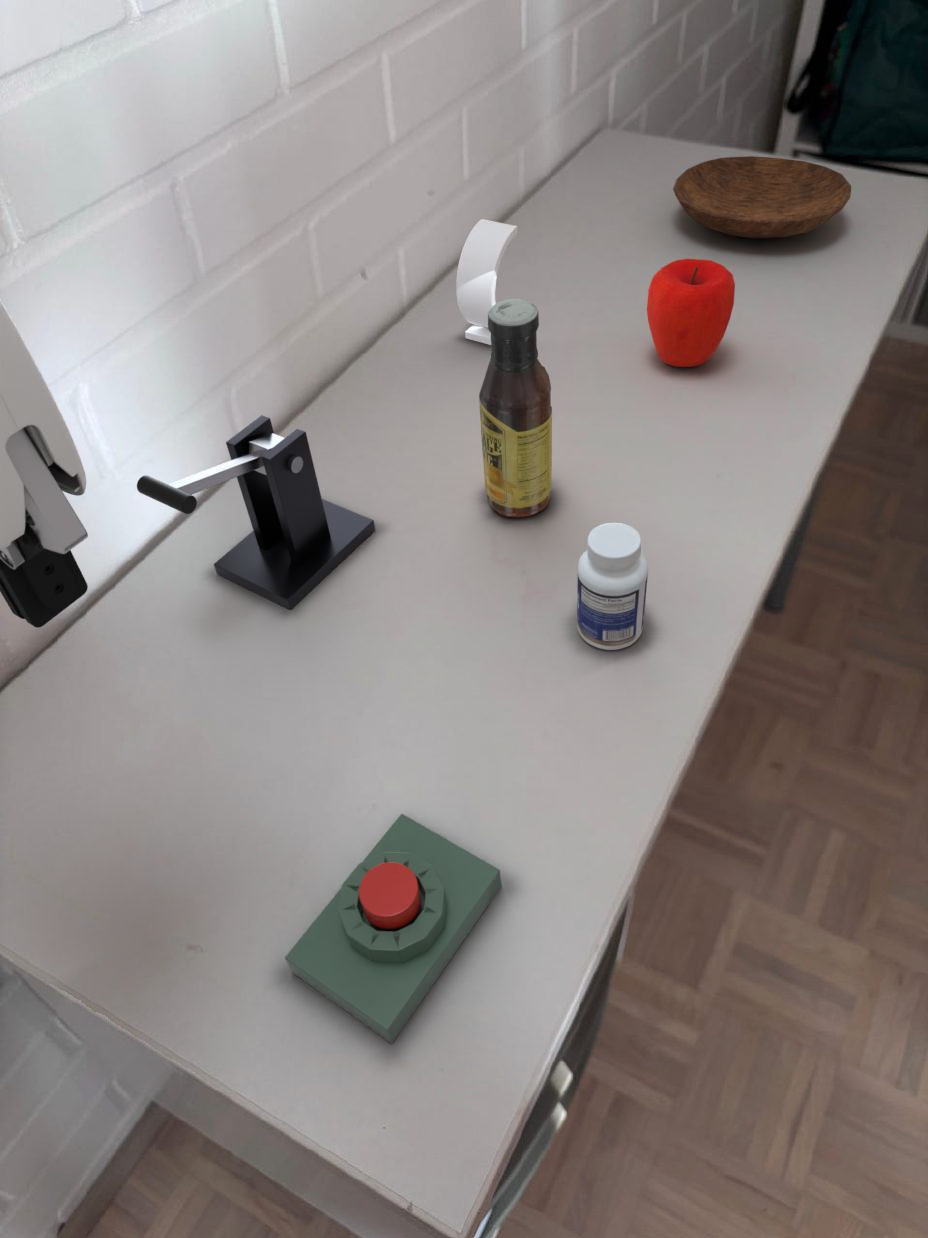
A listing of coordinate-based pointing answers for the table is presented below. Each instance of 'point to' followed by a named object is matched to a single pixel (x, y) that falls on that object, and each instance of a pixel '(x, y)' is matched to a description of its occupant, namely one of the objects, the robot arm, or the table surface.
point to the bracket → (287, 522)
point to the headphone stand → (481, 274)
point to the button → (390, 895)
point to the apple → (689, 310)
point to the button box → (395, 930)
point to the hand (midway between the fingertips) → (53, 603)
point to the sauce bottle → (516, 413)
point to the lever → (207, 477)
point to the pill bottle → (611, 587)
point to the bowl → (761, 195)
